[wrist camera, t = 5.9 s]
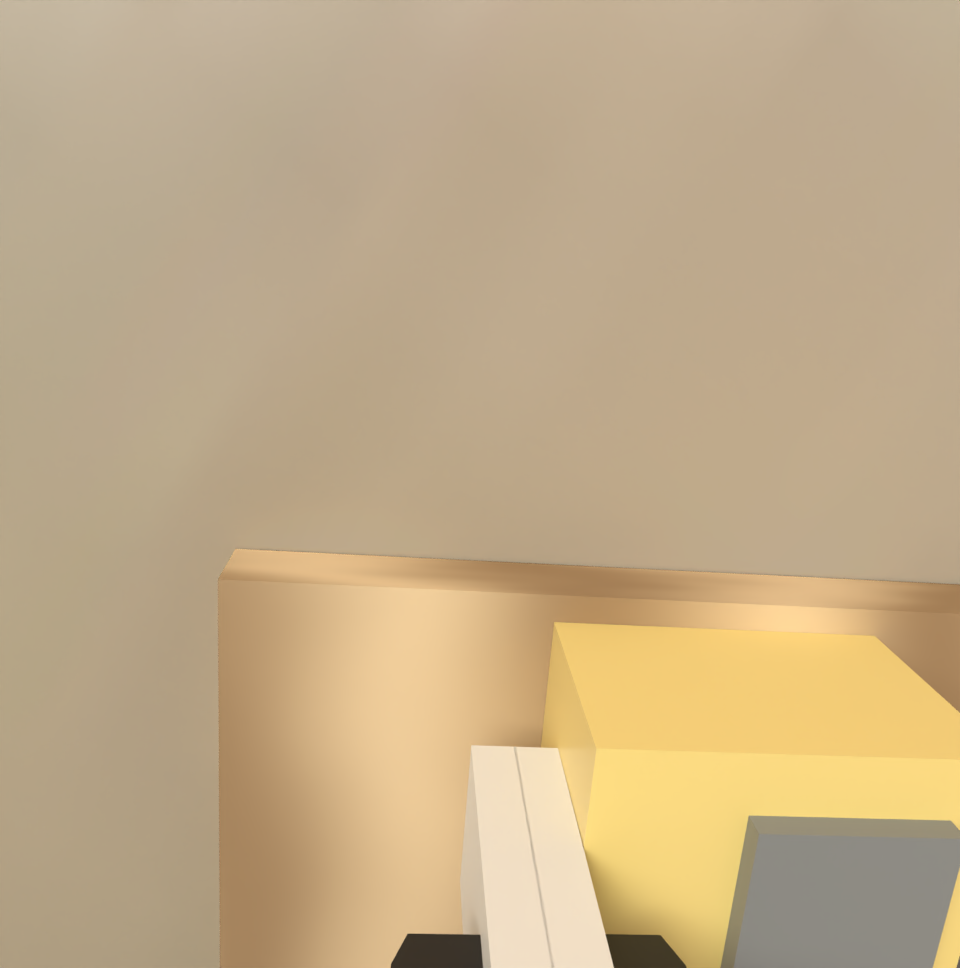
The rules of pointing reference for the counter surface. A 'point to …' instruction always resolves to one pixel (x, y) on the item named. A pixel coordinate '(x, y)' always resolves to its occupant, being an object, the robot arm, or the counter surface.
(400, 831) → the plywood board
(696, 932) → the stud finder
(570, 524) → the counter surface
